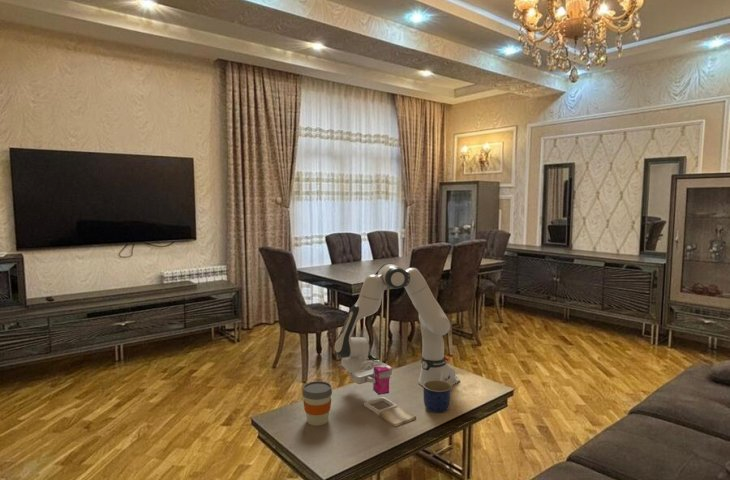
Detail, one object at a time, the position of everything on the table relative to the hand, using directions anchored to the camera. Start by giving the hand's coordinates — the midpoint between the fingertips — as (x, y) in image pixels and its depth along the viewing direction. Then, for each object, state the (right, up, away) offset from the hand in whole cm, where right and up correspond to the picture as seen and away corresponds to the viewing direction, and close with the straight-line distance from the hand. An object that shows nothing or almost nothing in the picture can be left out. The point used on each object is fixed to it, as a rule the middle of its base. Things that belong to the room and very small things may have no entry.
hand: (382, 379), depth 203 cm
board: (+6, -14, -8) cm, 17 cm away
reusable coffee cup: (-29, -15, -11) cm, 34 cm away
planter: (+25, -14, +1) cm, 28 cm away
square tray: (-1, -13, +2) cm, 13 cm away
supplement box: (-1, -6, +1) cm, 6 cm away
